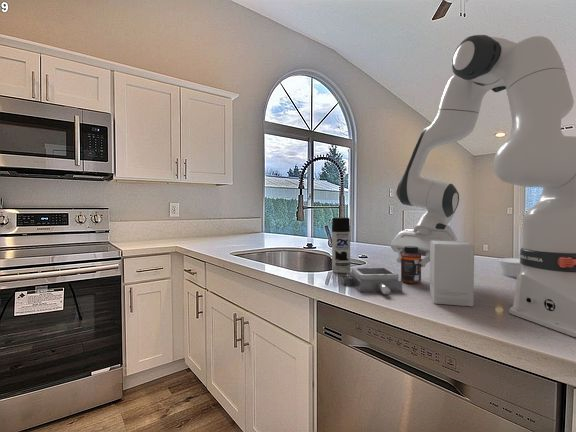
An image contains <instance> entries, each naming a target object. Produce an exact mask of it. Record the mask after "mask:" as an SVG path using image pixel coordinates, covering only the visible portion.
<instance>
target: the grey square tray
mask: <svg viewBox="0 0 576 432" xmlns="http://www.w3.org/2000/svg"><path fill="white" fill-rule="evenodd" d="M340 279H341V280H340V282H341V284H342V286H354V287H355V289H356V290H357V291H358V292H359V293H382V294H383V295H385V296H388V295H390V294H391V293H395V292H399V293H401V292H403V282H402V281H401V278H399V273H397V272H395V271H393V270H391V269H390V268H388V267H385V266H384V267H373V266H372V267H351V270H350V272H349V273H348V275H341V278H340Z"/></svg>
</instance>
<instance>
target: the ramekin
mask: <svg viewBox="0 0 576 432" xmlns="http://www.w3.org/2000/svg"><path fill="white" fill-rule="evenodd" d="M498 263H499V264H500V270H501V274H503V275H504V276H505V277H509V278H515V279H517V276H518V275H519V273H520V271H521V268H522V264H521V263H520V257H519V258H517V257H515V258H514V257H504V258H503V257H502V258H499V260H498Z"/></svg>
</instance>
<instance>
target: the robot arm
mask: <svg viewBox="0 0 576 432" xmlns="http://www.w3.org/2000/svg"><path fill="white" fill-rule="evenodd" d="M450 66H451V69H452V72H453V75H452V76H451V77H450V78H449V79H448V81H447V84H446V85H445V88H444V91H443V93H442V96H441V99H440V102H439V106H438V109H437V113H436V116H435V118H434V120H433V121H432V123H431V124H430V125H429V126H427V127H425V128H423V129H422V131H421V133H420V135H419V137H418V139H417V141H416V144H415V145H414V148H413V150H412V153H411V155H410V157H409V161H408V163H407V166H406V169H405V171H404V173H403V175H402V176H401V179H400V181H399V183H398V184H397V189H396V197H397V199H398V201H399V202H400V203H401V204H402V205H404V206H411V207H417V208H422V209H424V213H423V214H422V215H421V216H420V217H419V219H418V220H417V222H416V224H415V225H414V227H413V229H404V230H401V231H400V232H398V233H397V234H396V235H395V237H393V239H392V241H391V242H390V244H389V245H390V249H392V251H393V252H394V253H398V256H397V259H396V261H397V263H398V264H401V255H402V253H404V252H405V250H404V247H405V246H416V247H418V253H419V254H420V255H421V257H423V258H421V259H420V260H419V262H418V265H419V266H421V268H425V267H426V265H427V264H428V263H430V241H431V240H436V241H458V239H457V236H456V234H455V232H454V230H453V229H452V228H451V226H450V225H448V224H450V223H451V222H452V219H453V217H454V214H455V213H456V211H457V208H458V207H459V203H460V202H459V201H460V194H459V191H458V190H457V188H456V186H455V185H454V184H453V183H449V182H445V181H440V180H435V179H429V178H424V177H422V176H420V175H421V172H422V170H423V168H424V165H425V162H426V160H427V158H428V155H429V154H430V152H431V151H432V150H434V149H435V148H437V147H440V146H444V145H449V144H452V143H457V142H458V141H462V140H463V139H465V138H466V137H468V136H470V134H471V133H472V132H473V131H474V129H475V127H476V124H477V120H478V118H479V114H480V111H481V107H482V101H483V99H484V97H485V95H486V94H487V93H488V92H489V91H491V90H492V92H494V93H499V92H502V91H504V90H506V95H507V100H508V104H509V108H510V109H509V110H510V115H511V130H510V133H509V135H508V138H507V139H506V141H504V142H503V143H502V144H501V145H500V146H499V148H498V149H497V151H496V153H495V156H494V159H493V170H494V173H495V175H496V177H498V180H500V181H502V182H503V183H507V184H510V185H514V186H520V187H524V188H542V191H541V195H540V197H539V199H538V200H537V202H536V203H535V205H533V206H532V207H530V208H529V209H527V211H526V212H525V213H524V215H523V217H522V247H521V248H520V252H519V258H520V263H521V264H522V268H521V271H520V273H519V275H518V276H517V278H516V282H515V290H514V297H513V305H512V306H511V307H509V311H508V313H509V314H511V315H513V316H516V317H518V318H521V319H525V320H527V321H530V322H531V323H535V324H538V325H540V326H543V327H546V328H548V329H551V330H553V331H557V332H559V333H563V334H565V335H568V336H571V337H573V338H576V136H566V135H564V134H563V131H562V119H564V118H565V117H566V116H567V115H568V114H569V113H570V111H571V110H572V109H573V108H574V104H575V102H574V96H573V92H572V88H571V86H570V82H569V79H568V75H567V71H566V69H565V65H564V63H563V60H562V58H561V55H560V53H559V52H558V50H557V48H556V46H555V45H554V43H553V42H552V40H550V39H549V38H548V37H546V36H541V35H538V36H537V35H535V36H531V37H530V36H529V37H526V38H525V39H522V40H520V41H518V42H514V41H511V40H508V39H506V38H502V37H496V36H489V35H486V34H476V35H475V34H474V35H469V36H468V37H466V38H465V39H463V40H461V42H459V44H458V45H457V47H456V48H455V50H454V52H453V54H452V59H451V65H450Z"/></svg>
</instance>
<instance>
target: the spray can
mask: <svg viewBox="0 0 576 432" xmlns="http://www.w3.org/2000/svg"><path fill="white" fill-rule="evenodd" d="M331 221H332V222H331V254H332V255H331V261H332V262H331V265H332V269H331V270H332V272H333V273H334V274H349V272H350V271H352V267H351V225H350V224H351V223H350V217H332V220H331Z"/></svg>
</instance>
